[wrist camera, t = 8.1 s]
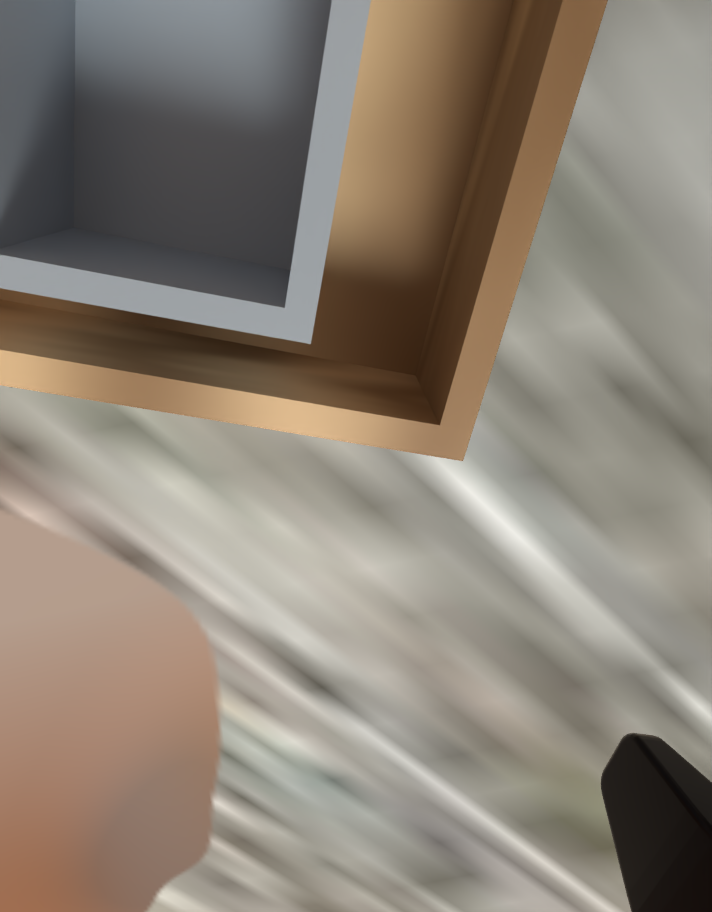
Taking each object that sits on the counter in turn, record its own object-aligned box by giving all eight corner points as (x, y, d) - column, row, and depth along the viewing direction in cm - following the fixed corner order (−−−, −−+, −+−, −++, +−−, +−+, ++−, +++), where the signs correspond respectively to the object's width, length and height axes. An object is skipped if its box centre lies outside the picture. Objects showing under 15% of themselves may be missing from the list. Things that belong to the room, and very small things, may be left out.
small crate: (54, -312, 11) (-113, -619, 7) (394, -203, 12) (442, -411, 8) (56, 245, 16) (-47, 280, 11) (310, 293, 16) (310, 343, 12)
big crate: (615, -278, 13) (760, -486, 9) (430, 396, 19) (462, 460, 15) (-191, -576, 10) (-510, -1044, 6) (-101, 301, 17) (-233, 346, 13)
